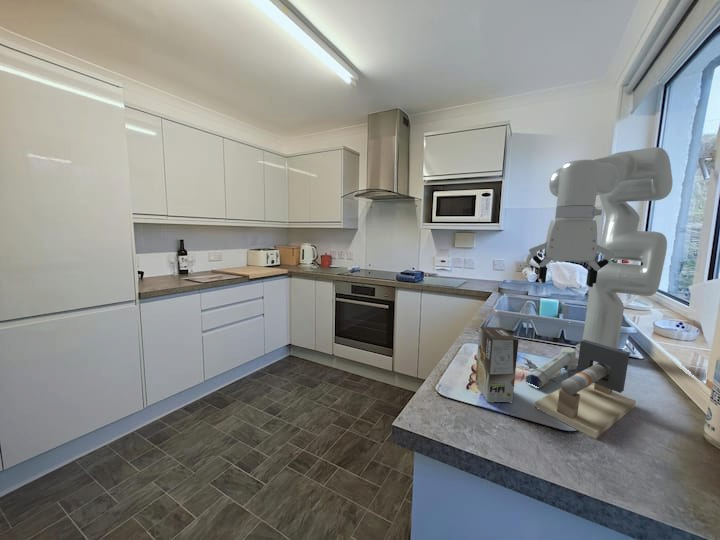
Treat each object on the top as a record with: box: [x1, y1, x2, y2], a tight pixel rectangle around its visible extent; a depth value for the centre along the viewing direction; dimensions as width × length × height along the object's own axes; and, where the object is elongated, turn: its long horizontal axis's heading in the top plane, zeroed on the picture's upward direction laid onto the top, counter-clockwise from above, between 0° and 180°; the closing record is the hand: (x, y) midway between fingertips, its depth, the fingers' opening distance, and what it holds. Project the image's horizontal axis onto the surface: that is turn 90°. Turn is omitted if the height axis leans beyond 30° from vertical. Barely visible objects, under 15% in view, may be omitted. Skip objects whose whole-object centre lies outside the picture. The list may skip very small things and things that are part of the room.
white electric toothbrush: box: [525, 346, 579, 389], centre depth 85 cm, size 5×7×25 cm
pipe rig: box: [534, 362, 637, 440], centre depth 70 cm, size 22×12×10 cm, turn 122°
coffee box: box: [474, 326, 519, 403], centre depth 74 cm, size 9×6×16 cm
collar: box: [576, 339, 631, 394], centre depth 72 cm, size 2×9×10 cm, turn 32°
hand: (565, 284), depth 74 cm, fingers open, 9 cm apart
